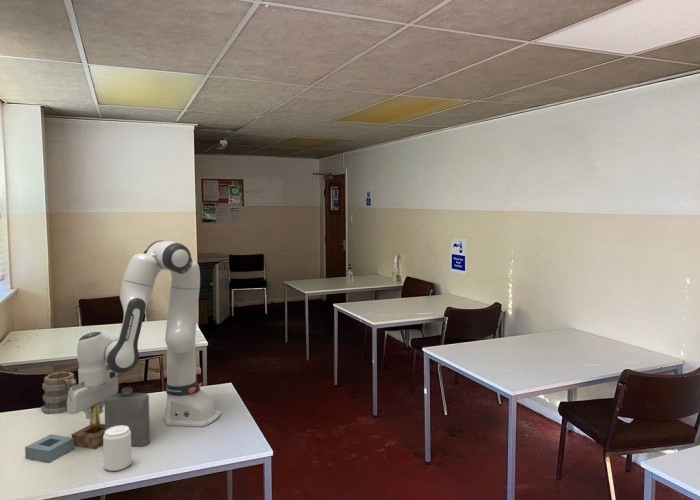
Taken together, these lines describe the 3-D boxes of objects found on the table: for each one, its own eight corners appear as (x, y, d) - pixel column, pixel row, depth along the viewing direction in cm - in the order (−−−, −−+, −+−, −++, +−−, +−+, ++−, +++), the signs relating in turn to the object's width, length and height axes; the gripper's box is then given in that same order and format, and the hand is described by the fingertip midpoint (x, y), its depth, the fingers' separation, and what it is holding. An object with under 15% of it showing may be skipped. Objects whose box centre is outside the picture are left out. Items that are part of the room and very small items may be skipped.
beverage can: (99, 467, 158) (97, 431, 157) (122, 457, 165) (121, 422, 164) (113, 475, 153) (112, 437, 153) (136, 464, 160) (135, 428, 159)
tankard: (38, 408, 206) (36, 373, 205) (70, 400, 215) (69, 366, 214) (56, 421, 193) (55, 384, 192) (90, 411, 203) (88, 376, 202)
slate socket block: (74, 449, 170) (73, 437, 170) (49, 462, 161) (48, 451, 160) (51, 445, 173) (51, 434, 173) (25, 458, 164) (25, 446, 163)
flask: (152, 439, 178) (151, 385, 177) (146, 446, 172) (145, 391, 171) (110, 440, 177) (108, 386, 176) (103, 447, 171) (101, 392, 170)
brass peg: (102, 434, 178) (101, 402, 177) (95, 438, 175) (94, 406, 174) (95, 433, 179) (93, 401, 178) (88, 437, 176) (86, 405, 175)
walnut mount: (116, 436, 180) (115, 426, 180) (94, 449, 170) (94, 438, 170) (94, 433, 183) (93, 422, 182) (71, 445, 173) (71, 434, 173)
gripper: (75, 389, 164) (78, 429, 165) (120, 370, 184) (122, 405, 185) (61, 387, 166) (63, 426, 167) (106, 368, 186) (108, 404, 187)
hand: (94, 415), depth 176 cm, fingers closed on brass peg, 3 cm apart
